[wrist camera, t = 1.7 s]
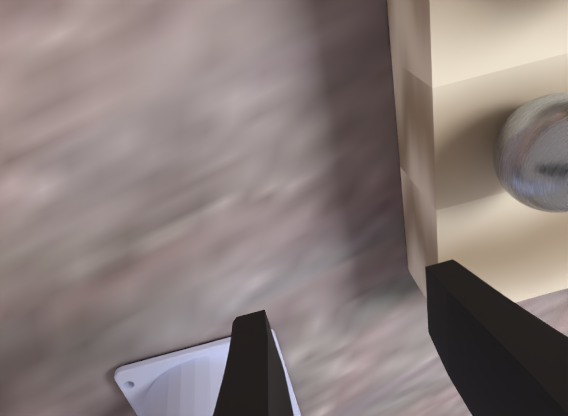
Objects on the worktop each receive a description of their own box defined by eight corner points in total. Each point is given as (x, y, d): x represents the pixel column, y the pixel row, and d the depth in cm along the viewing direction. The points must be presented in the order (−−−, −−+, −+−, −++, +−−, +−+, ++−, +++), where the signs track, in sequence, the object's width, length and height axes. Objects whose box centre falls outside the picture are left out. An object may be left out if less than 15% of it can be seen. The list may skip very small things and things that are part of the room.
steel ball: (567, 163, 16) (648, 217, 13) (470, 189, 16) (531, 249, 13) (581, 65, 14) (680, 102, 11) (472, 93, 14) (543, 138, 11)
